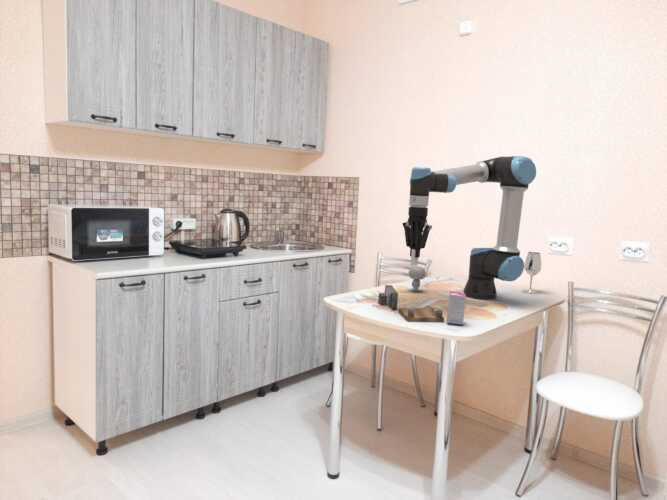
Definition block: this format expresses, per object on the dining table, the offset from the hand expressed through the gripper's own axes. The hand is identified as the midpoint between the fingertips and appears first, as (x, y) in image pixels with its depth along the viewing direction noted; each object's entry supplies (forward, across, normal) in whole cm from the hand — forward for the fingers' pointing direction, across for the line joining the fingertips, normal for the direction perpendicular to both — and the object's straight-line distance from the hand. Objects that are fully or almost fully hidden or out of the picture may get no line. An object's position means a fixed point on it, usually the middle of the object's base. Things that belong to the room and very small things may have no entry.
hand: (414, 265), depth 203 cm
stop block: (+18, -13, -3) cm, 23 cm away
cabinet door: (+18, +7, -5) cm, 20 cm away
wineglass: (+19, +14, +80) cm, 83 cm away
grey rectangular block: (+18, -11, 0) cm, 21 cm away
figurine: (+19, -20, +30) cm, 41 cm away
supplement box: (+19, +22, -2) cm, 29 cm away
